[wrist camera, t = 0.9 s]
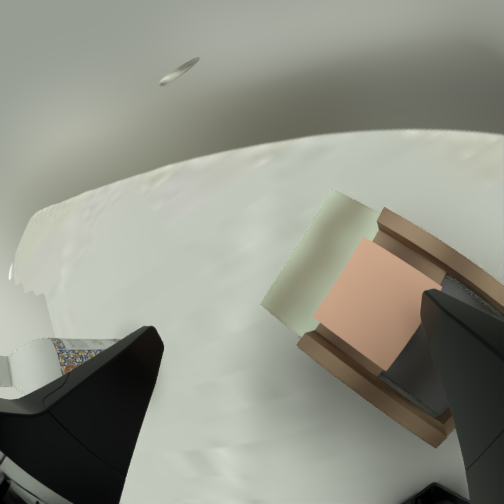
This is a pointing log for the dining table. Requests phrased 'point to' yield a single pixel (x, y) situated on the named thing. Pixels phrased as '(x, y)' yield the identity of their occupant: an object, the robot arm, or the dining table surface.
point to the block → (375, 303)
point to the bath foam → (47, 361)
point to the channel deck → (343, 354)
